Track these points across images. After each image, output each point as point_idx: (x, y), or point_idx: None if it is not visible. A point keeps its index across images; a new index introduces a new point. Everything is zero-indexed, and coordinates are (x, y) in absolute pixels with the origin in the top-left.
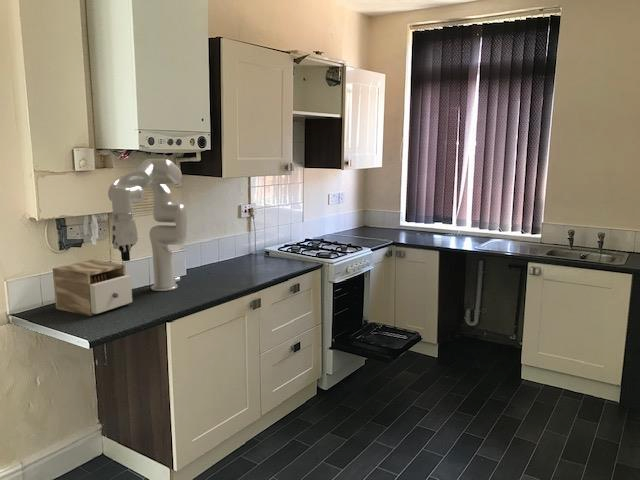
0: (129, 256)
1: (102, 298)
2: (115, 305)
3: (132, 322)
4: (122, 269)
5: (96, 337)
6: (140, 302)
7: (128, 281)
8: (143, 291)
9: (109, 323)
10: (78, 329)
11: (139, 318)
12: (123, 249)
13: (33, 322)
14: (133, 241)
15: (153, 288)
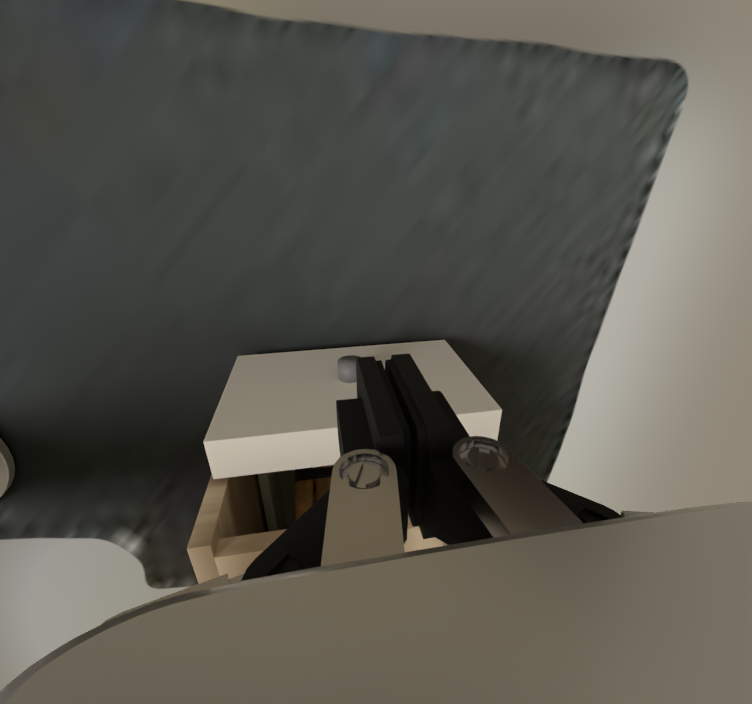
0: (370, 382)
1: (426, 370)
2: (343, 352)
3: (429, 117)
4: (220, 523)
5: (648, 97)
6: (186, 354)
7: (234, 418)
8: (66, 481)
9: (483, 213)
10: (581, 263)
11: (365, 138)
12: (532, 478)
13: (560, 448)
14: (293, 642)
15: (7, 466)
